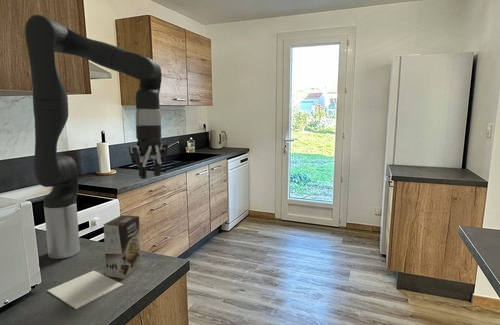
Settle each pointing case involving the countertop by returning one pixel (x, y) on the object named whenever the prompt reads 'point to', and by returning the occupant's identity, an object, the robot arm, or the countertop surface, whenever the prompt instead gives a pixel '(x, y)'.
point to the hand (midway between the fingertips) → (150, 176)
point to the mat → (84, 289)
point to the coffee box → (122, 246)
